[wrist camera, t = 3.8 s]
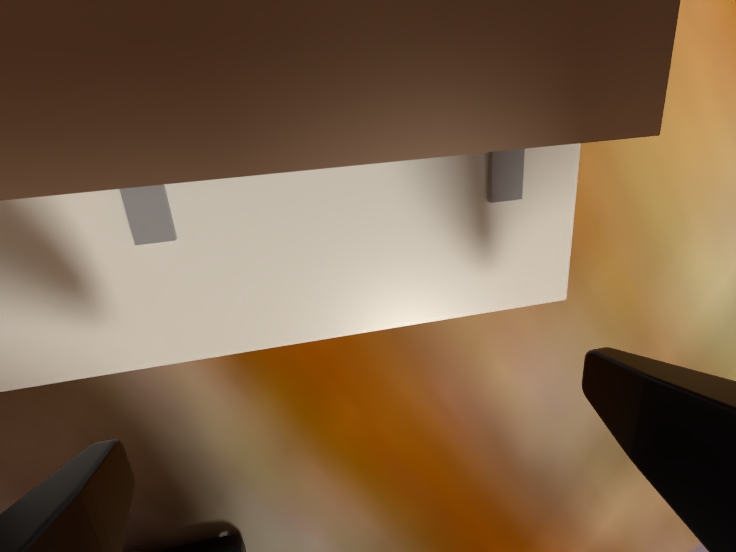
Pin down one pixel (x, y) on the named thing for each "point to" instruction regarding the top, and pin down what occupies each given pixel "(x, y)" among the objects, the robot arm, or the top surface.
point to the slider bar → (312, 84)
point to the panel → (276, 259)
